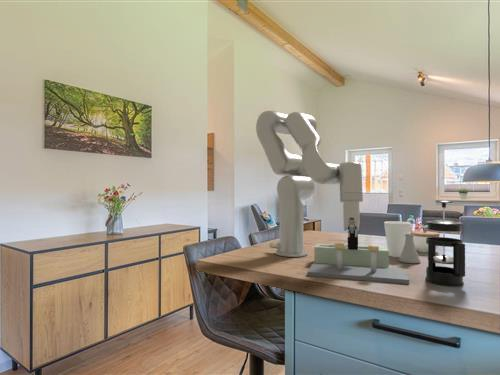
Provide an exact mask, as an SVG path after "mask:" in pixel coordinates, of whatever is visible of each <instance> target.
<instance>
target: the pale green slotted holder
mask: <svg viewBox="0 0 500 375" xmlns="http://www.w3.org/2000/svg"><path fill="white" fill-rule="evenodd" d="M313 254H314V259H313V260H314V262H313V263H326V264H337V249H336V248H335V244H333V243H332V244H331V243H329V244H327V243H316V244H315V246H314V253H313ZM389 259H390V256H389V250H388V247H386V246H385V247H384V246H379V250H378V251H376V267H384V268H390V260H389ZM342 265H355V266H370V267H371V250H368V246H367V245H358V250H349V249H348V244H344V249H342Z"/></svg>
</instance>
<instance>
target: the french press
mask: <svg viewBox="0 0 500 375" xmlns="http://www.w3.org/2000/svg"><path fill="white" fill-rule="evenodd" d="M435 203H441V207H442V208H443V209H442V211H443V212H442V219H435V220H426V221H425V222H426V224H427V230H428V231H429V230H430V231H433V232H442V236H439V237H428V238H426V243H427V244H428V252H427V254H428V255H427V260H428V261H427V262H428V265H427V267H426V268H425V271H426V272H425V273H426V274H425V281H426V282H429V283H430V284H433V285H437V286H443V287H462V286H464V284H465V282H464V280H463V279H464V277H466V244H465V243H463V242H464V241H463V240H462V239H459V238H455V237H446V234H445V232H448V233H450V232H453V233H455V232H461V231H462V227H461V226H462V225H463V222H460V221H454V220H447V219H446V216H445V215H446V214H445V213H446V212H445V211H446V210H445V208H447V203H448V204H449V203H453V201H452V200H436V201H435ZM436 246H438V247H442V252H443V253H442V255H436V253H437V252H436V249H437V248H436ZM446 247H448V248H452V250H453V251H452V254H453V255H452V256H453V257H451V256H446V252H445V251H446ZM436 264H441V266H439V265H438V266H437V265H436ZM442 265H452V267H450V266H442Z"/></svg>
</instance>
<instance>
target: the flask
mask: <svg viewBox="0 0 500 375" xmlns="http://www.w3.org/2000/svg"><path fill="white" fill-rule="evenodd" d="M413 236H414V234H411V233H409V234H405V237H406V239H405V245H404V248H403V251H402V253H401V256H400V257H398V261H399V262H401V263H405V264H407V263H408V264H420V263H421V259H420V256H419V253H418V251H417V249H416V248H415V245H414V240H413Z"/></svg>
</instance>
